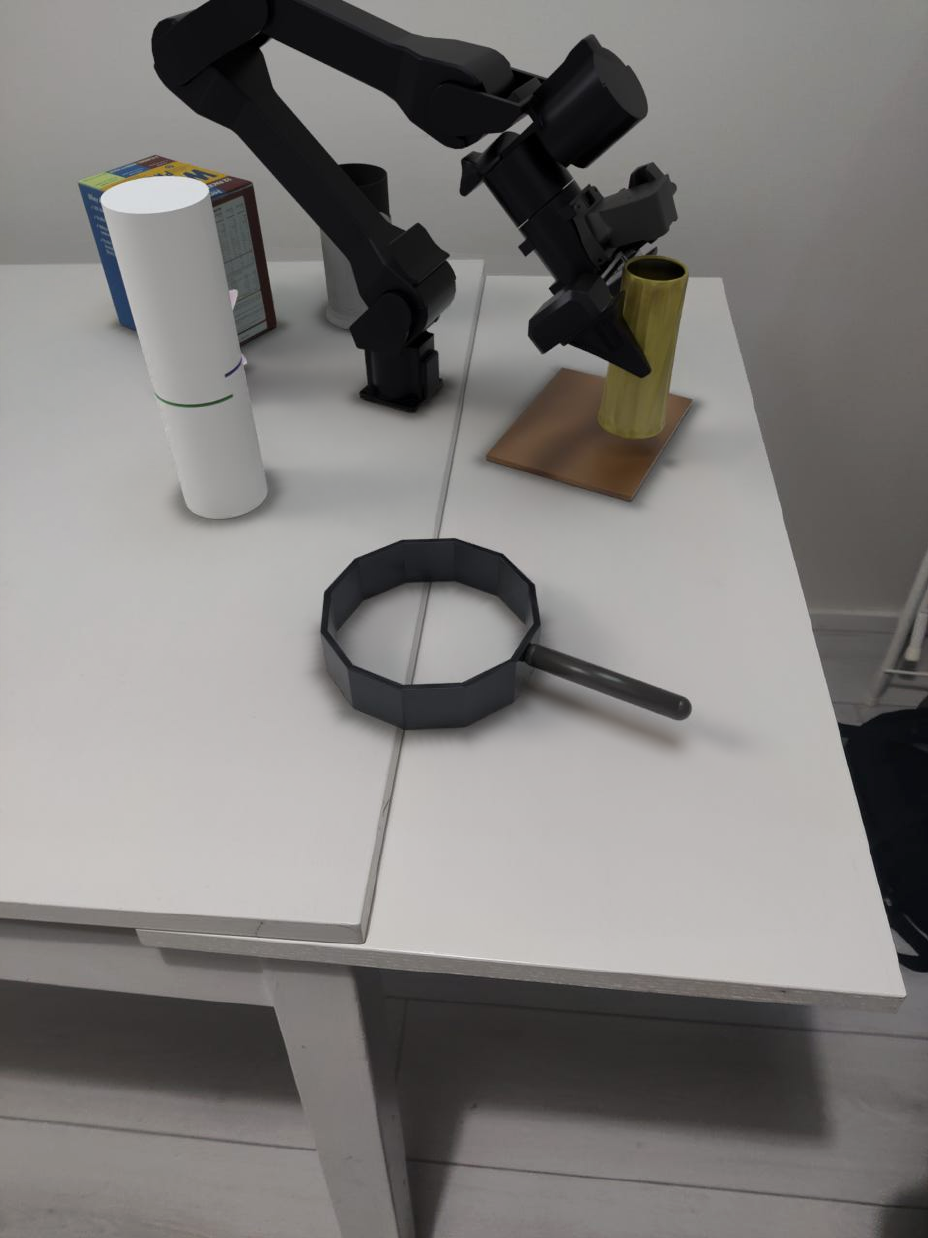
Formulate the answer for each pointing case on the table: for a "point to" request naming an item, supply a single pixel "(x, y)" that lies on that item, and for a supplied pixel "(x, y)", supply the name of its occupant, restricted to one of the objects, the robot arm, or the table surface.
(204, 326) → the cylindrical container
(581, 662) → the pan
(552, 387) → the wooden board
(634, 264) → the vase
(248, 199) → the protein box
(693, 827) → the table surface
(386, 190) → the glass holder
